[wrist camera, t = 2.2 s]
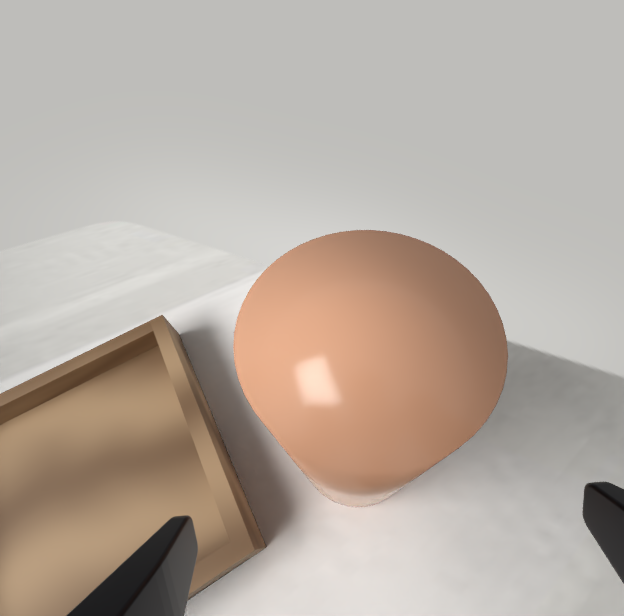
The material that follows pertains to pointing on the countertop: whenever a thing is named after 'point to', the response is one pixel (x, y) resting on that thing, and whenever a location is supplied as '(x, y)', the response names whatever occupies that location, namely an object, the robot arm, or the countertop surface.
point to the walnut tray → (112, 472)
